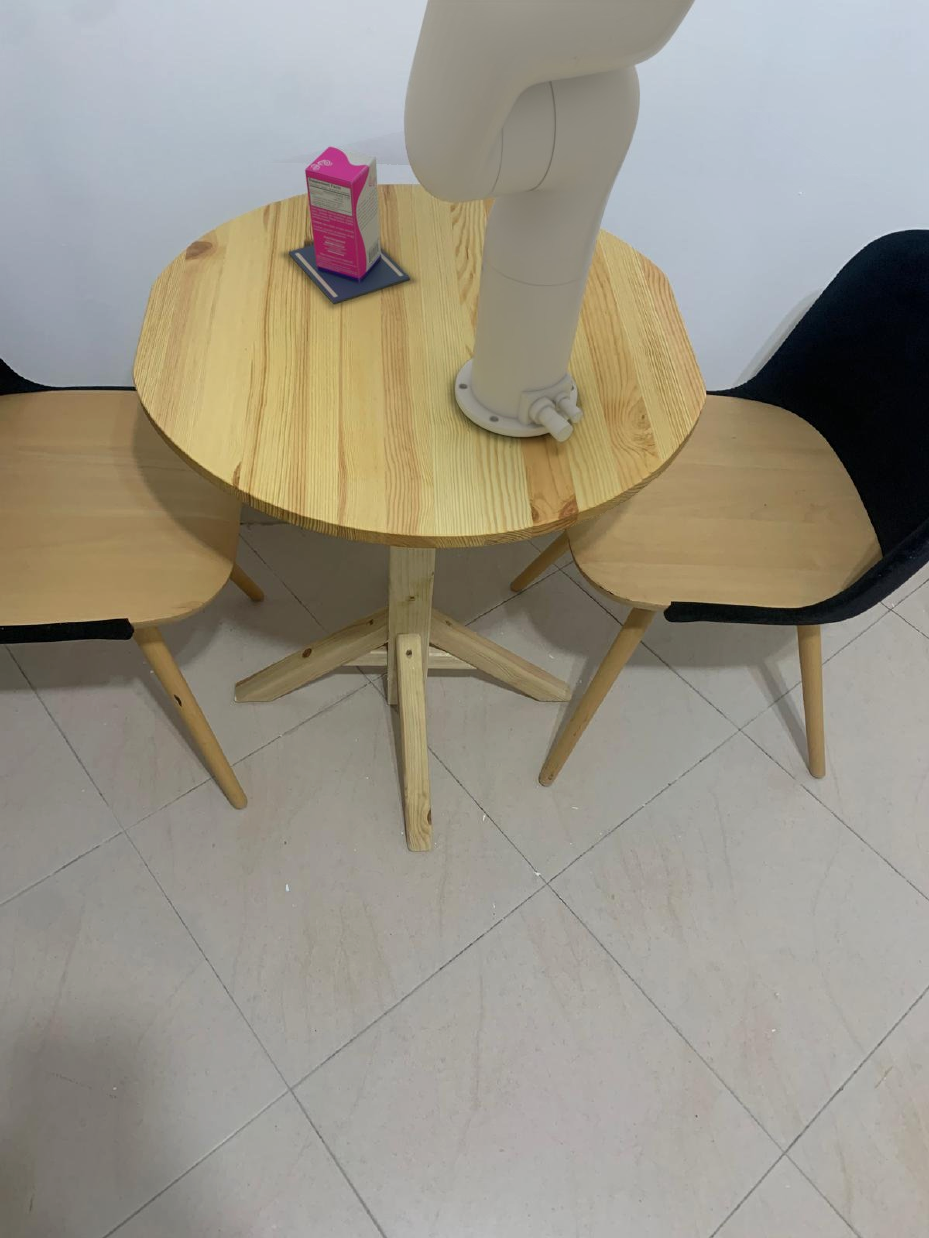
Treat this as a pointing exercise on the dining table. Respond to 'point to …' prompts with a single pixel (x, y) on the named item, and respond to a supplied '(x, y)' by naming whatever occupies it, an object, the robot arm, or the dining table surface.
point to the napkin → (344, 288)
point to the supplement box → (344, 212)
